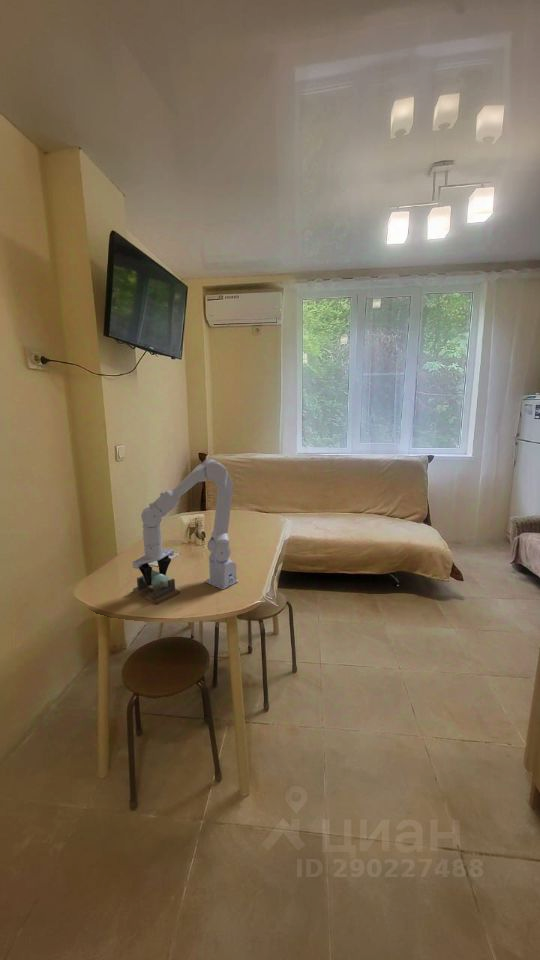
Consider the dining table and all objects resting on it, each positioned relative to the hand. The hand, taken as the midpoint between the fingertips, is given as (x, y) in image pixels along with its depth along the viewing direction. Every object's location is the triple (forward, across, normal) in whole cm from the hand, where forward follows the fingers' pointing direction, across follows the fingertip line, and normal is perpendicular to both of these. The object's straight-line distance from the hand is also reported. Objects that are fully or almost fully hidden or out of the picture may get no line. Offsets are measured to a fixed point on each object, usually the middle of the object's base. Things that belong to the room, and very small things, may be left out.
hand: (155, 581), depth 122 cm
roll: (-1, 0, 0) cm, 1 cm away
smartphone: (+5, -19, -23) cm, 30 cm away
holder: (+4, 0, 0) cm, 4 cm away
